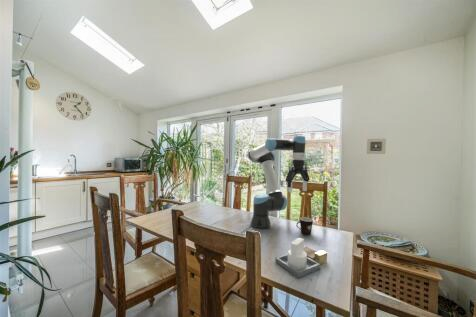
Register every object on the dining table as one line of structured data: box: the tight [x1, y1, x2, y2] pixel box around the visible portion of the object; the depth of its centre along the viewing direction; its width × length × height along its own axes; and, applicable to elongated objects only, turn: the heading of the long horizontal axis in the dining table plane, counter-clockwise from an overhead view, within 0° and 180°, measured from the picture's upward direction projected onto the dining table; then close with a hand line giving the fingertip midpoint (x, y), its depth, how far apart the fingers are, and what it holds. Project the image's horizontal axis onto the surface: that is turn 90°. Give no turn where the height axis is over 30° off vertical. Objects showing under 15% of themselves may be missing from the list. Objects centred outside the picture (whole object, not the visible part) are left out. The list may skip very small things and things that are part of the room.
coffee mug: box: [296, 217, 314, 236], centre depth 142 cm, size 12×9×10 cm
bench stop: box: [314, 249, 328, 266], centre depth 105 cm, size 3×6×5 cm, turn 121°
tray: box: [274, 253, 321, 279], centre depth 101 cm, size 15×15×3 cm
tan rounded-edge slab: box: [304, 246, 317, 260], centre depth 111 cm, size 10×8×2 cm
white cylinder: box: [287, 237, 307, 270], centre depth 100 cm, size 9×9×12 cm
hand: (297, 191), depth 134 cm, fingers open, 13 cm apart
